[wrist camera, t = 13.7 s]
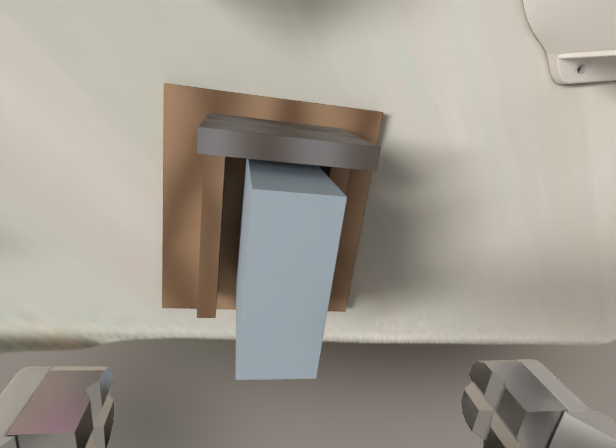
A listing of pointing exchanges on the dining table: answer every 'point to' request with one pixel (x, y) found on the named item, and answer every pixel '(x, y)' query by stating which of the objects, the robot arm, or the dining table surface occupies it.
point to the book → (285, 268)
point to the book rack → (230, 175)
